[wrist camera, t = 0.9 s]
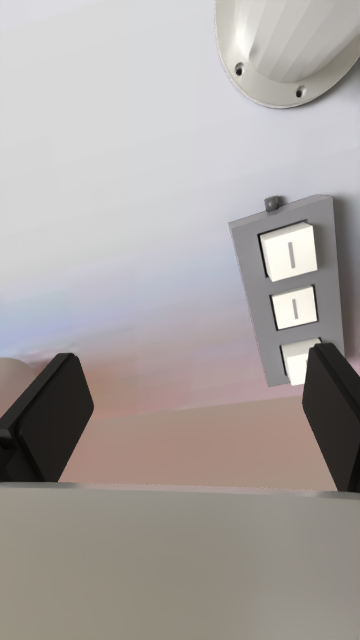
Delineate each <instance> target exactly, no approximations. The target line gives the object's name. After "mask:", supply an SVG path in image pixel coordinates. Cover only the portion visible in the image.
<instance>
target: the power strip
mask: <svg viewBox="0 0 360 640" xmlns="http://www.w3.org/2000/svg"><path fill="white" fill-rule="evenodd" d="M264 201H265V206H266V211H264V212H261V213H258V214H254V215H251V216H248V217H245V218H242V219H239V220H236V221H233V222H230V223H228V224H229V228H230V232H231V237H232V241H233V245H234V249H235V253H236V257H237V262H238V266H239V270H240V274H241V278H242V283H243V287H244V291H245V295H246V299H247V304H248V308H249V312H250V316H251V320H252V324H253V329H254V333H255V337H256V341H257V345H258V350H259V354H260V358H261V362H262V366H263V370H264V373H265V377H266V380H267V384H268V387H271V386H277V385H282V384H288V383H291V382H290V379H289V377H288V375H287V372H286V367H285V362H284V357H283V352H282V347H281V345H285V344H289V343H294V342H299V341H304V340H308V339H313V338H318V339H319V340H320V342H321V343H333V344H334V345H335V346H336V348H337V349H338V350H339V351H340V353H341V354H342V355H343V356H344V358H345V354H344V341H343V328H342V315H341V302H340V289H339V276H338V263H337V250H336V237H335V224H334V211H333V198H332V196H325V195H317V194H316V195H313V196H310V197H307V198H304V199H301V200H297V201H294V202H291V203H288V204H285V205H282V206H278V200H277V196H273V197H269V198H267V199H265V200H264ZM302 222H304V223H306V224H309V225H311V226H313V235H314V244H315V253H316V263H317V270H315V271H311V272H308V273H304V274H300V275H296V276H292V277H289V278H285V279H281V280H277V281H274V282H272V280H271V279H270V277H269V275H268V274H267V269H266V264H265V259H264V254H263V249H262V243H261V238H260V235H263V234H266V233H269V232H273V231H276V230H279V229H282V228H286V227H289V226H292V225H295V224H299V223H302ZM306 285H311V286H312V287H313V293H314V302H315V310H316V318H317V321H313V322H309V323H304V324H300V325H296V326H291V327H287V328H282V329H278V327H277V325H276V322H275V320H274V317H273V312H272V307H271V302H270V297H269V295H271V294H275V293H279V292H283V291H287V290H291V289H295V288H299V287H303V286H306Z"/></svg>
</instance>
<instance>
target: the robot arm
mask: <svg viewBox="0 0 360 640" xmlns="http://www.w3.org/2000/svg"><path fill="white" fill-rule="evenodd" d="M214 20H215V37H216V42H217V47H218V52H219V56H220V59H221V61H222V64H223V66H224V69H225V72H226V73H227V75H228V76H229V78H230V80H231V81H232V83H233V85H234V86H235V87H236V88H237V89H238V90H239V91H240V92H241V93H242V94H243V95H244V96H245V97H247V98H248V99H250V100H251V101H253V102H254V103H257V104H260V105H262V106H265V107H269V108H279V109H282V108H290V107H296V106H299V105H301V104H304V103H307V102H310V101H311V100H313V99H315V98H316V97H318V96H320V95H322V94H323V93H325V92H326V91H327V90H328V89H330V88H331V87H332V86H334V85H335V84H336V83H337V82H338V81H339V80H340V79H341V78H342V77H343V76H344V75H345V74H346V73H347V72H348V71H349V70H350V69H351V67H352V66H353V65H354V63H355V62H356V61H357V60H358V58H359V57H360V0H215V14H214ZM237 70H241V72H242V74H241V75H240V76H238V75H236V71H237ZM297 91H300V92H301V96H300V97H299V98H298V97H297V96H296V92H297ZM302 404H303V409H304V412H305V414H306V417H307V419H308V422H309V424H310V426H311V429H312V431H313V433H314V436H315V438H316V440H317V443H318V445H319V447H320V450H321V452H322V454H323V457H324V459H325V461H326V464H327V466H328V468H329V471H330V473H331V476H332V478H333V480H334V483H335V485H336V487H337V490H338V491H322V490H303V489H302V490H301V489H280V488H250V487H218V486H187V485H186V486H185V485H184V486H183V485H148V484H110V483H63V482H62V483H61V482H59V483H58V480H59V478H60V476H61V474H62V472H63V470H64V468H65V466H66V464H67V462H68V460H69V458H70V456H71V455H72V453H73V450H74V449H75V447H76V444H77V443H78V440H79V439H80V437H81V434H82V433H83V431H84V429H85V427H86V425H87V423H88V421H89V419H90V417H91V415H92V413H93V409H94V404H93V400H92V397H91V394H90V391H89V388H88V385H87V382H86V379H85V376H84V373H83V370H82V367H81V364H80V361H79V358H78V357H77V356H75V355H74V354H73V353H59V354H57V355H56V356H55V357H54V358H53V360H52V361H51V362H50V363H49V364H48V365H47V366H46V367H45V369H44V370H43V371H42V372H41V373H40V374H39V375H38V376H37V378H36V379H35V380H34V381H33V382H32V383H31V384H30V386H29V387H28V388H27V389H26V390H25V391H24V392H23V394H22V395H21V396H20V397H19V398H18V399H17V400H16V401H15V403H14V404H13V405H12V406H11V407H10V408H9V409H8V411H7V412H6V413H5V414H4V415H3V416H2V417H1V418H0V640H360V377H359V375H358V374H357V373H356V372H355V370H354V369H353V368H352V366H351V365H350V364H349V363H348V361H347V360H346V359H345V358H344V356H343V355H342V354H341V353H340V351H339V350H338V349H337V348H336V346H335V345H334V344H333V343H316V344H315V345H314V347H310V348H309V353H308V361H307V368H306V376H305V384H304V391H303V400H302Z"/></svg>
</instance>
